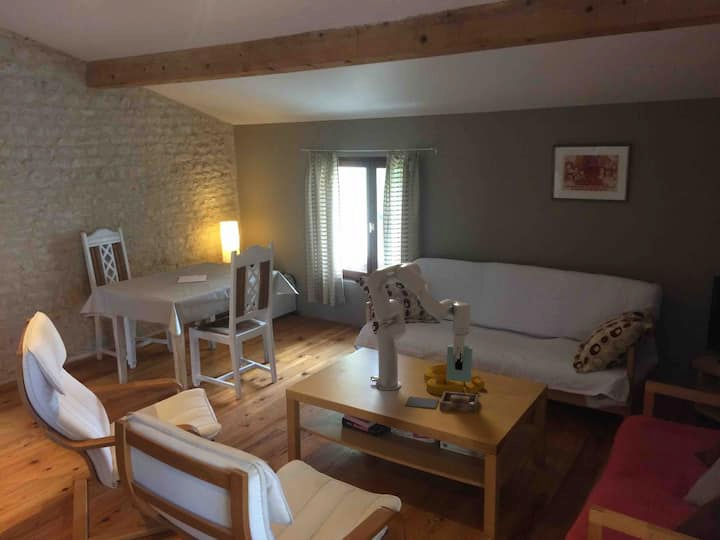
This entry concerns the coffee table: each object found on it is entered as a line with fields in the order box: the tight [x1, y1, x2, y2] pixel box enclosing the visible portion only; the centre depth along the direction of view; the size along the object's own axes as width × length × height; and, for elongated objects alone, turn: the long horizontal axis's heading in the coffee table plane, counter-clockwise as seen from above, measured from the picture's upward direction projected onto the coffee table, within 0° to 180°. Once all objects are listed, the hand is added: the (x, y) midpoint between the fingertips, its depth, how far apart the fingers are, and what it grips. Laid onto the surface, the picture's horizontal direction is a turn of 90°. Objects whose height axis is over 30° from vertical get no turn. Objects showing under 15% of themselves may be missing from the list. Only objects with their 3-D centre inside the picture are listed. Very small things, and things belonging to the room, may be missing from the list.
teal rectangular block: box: [446, 344, 474, 382], centre depth 279 cm, size 11×3×16 cm, turn 74°
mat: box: [404, 395, 440, 410], centre depth 282 cm, size 14×10×1 cm
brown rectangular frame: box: [439, 391, 479, 414], centre depth 278 cm, size 16×13×4 cm
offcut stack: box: [449, 395, 474, 404], centre depth 276 cm, size 11×4×5 cm, turn 74°
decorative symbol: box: [423, 364, 485, 396], centre depth 304 cm, size 30×5×30 cm
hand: (459, 367), depth 279 cm, fingers closed on teal rectangular block, 3 cm apart
